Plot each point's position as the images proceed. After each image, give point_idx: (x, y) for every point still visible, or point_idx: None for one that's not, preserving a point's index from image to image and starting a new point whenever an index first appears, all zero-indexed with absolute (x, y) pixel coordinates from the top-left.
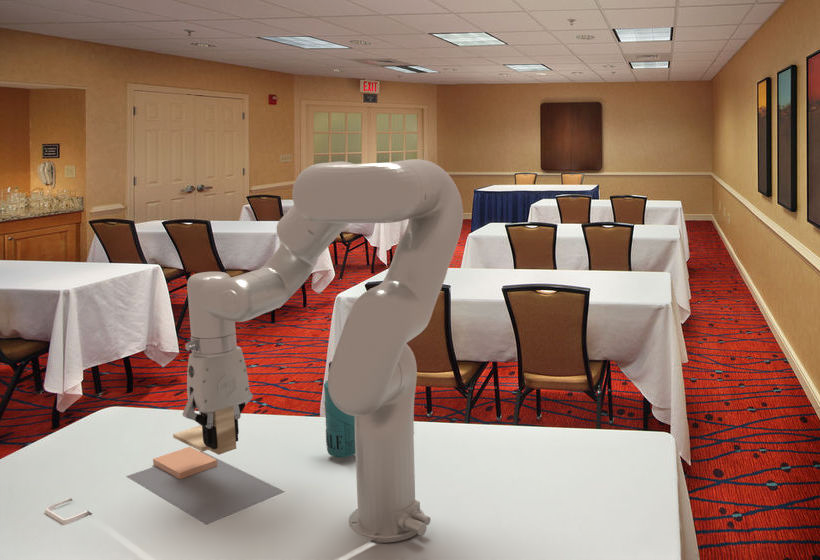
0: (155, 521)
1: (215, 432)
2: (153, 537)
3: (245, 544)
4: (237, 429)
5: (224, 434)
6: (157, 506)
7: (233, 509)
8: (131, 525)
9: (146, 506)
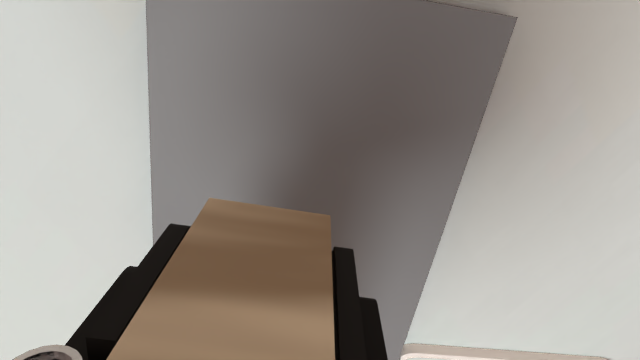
0: (518, 205)
1: (343, 328)
2: (606, 133)
3: None
4: (133, 273)
5: (267, 282)
6: (442, 266)
7: (378, 19)
8: (562, 239)
9: (455, 288)
